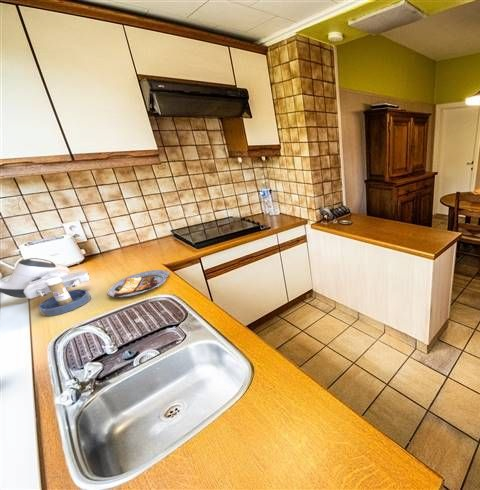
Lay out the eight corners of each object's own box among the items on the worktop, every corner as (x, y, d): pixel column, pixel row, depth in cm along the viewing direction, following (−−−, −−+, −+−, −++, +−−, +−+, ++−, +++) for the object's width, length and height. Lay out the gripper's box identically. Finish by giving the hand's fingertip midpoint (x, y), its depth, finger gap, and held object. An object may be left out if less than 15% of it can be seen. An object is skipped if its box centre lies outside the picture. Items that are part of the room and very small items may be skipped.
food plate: (161, 293, 126) (158, 287, 125) (100, 306, 119) (96, 299, 117) (174, 270, 148) (172, 264, 146) (123, 279, 140) (120, 274, 139)
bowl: (42, 321, 110) (37, 314, 109) (42, 307, 120) (38, 300, 118) (93, 303, 121) (89, 297, 119) (89, 291, 130) (86, 285, 129)
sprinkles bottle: (58, 308, 117) (41, 283, 112) (63, 303, 121) (47, 278, 116) (72, 305, 119) (56, 280, 114) (76, 300, 123) (61, 275, 118)
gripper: (90, 276, 136) (94, 285, 127) (30, 295, 122) (29, 306, 113) (85, 266, 133) (87, 274, 125) (22, 283, 119) (20, 294, 111)
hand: (59, 289), depth 119 cm, fingers open, 8 cm apart
